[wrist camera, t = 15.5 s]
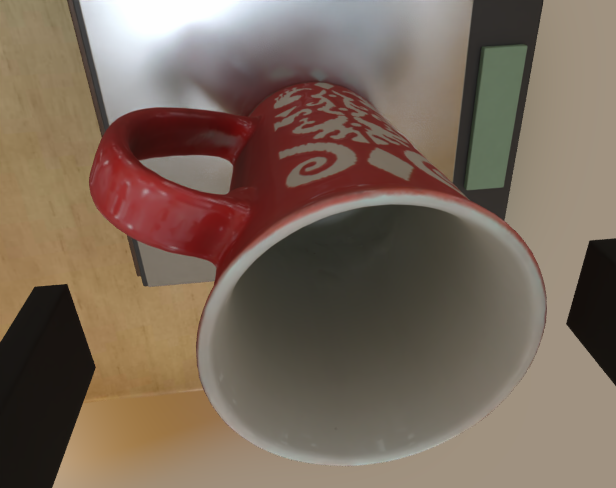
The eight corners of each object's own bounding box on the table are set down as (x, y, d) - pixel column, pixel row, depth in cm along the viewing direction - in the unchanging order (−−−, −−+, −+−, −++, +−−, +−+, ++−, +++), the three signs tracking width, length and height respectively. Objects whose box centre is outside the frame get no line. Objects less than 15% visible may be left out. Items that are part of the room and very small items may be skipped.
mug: (448, 129, 25) (624, 302, 13) (336, 267, 28) (398, 501, 16) (210, -42, 20) (157, -8, 8) (112, 148, 23) (-22, 356, 12)
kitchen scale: (528, -72, 24) (567, -73, 21) (481, 233, 32) (504, 263, 29) (77, -51, 22) (52, -49, 19) (150, 261, 31) (140, 295, 28)
